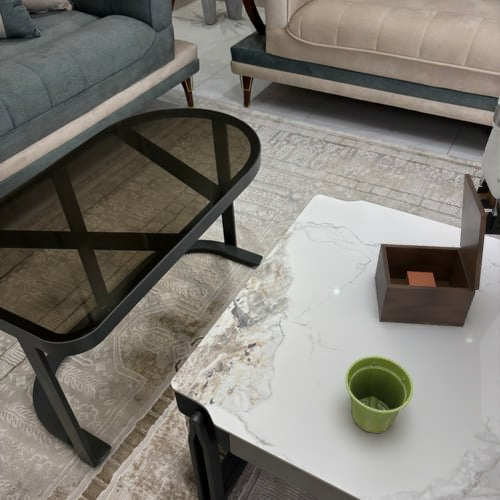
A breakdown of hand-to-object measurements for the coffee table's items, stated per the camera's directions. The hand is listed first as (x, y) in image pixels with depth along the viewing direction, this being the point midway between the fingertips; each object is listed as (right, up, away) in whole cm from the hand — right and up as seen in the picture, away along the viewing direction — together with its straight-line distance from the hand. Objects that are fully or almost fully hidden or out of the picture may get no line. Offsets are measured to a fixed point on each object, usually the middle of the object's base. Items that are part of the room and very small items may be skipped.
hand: (487, 219), depth 81 cm
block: (-7, -14, +13) cm, 20 cm away
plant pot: (-20, -30, -4) cm, 37 cm away
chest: (-7, -15, +14) cm, 21 cm away
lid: (-2, -2, +2) cm, 4 cm away
